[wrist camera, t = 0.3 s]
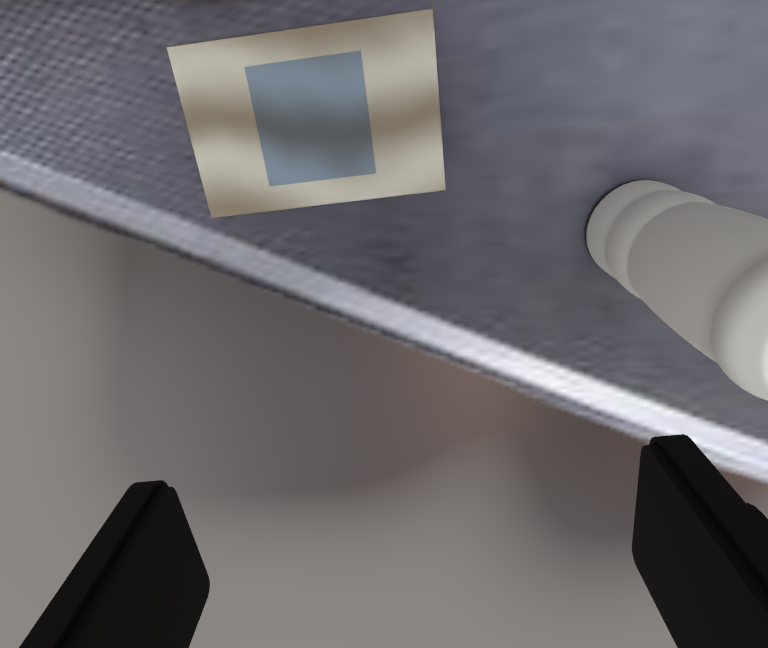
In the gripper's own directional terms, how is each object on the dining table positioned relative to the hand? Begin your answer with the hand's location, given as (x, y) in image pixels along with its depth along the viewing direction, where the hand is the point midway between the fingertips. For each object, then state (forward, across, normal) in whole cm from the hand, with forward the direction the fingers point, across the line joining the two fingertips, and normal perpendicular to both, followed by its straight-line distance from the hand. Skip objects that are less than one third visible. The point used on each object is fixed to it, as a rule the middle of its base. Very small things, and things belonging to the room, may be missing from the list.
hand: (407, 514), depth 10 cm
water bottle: (+30, -17, +3) cm, 35 cm away
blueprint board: (+30, +5, -7) cm, 31 cm away
